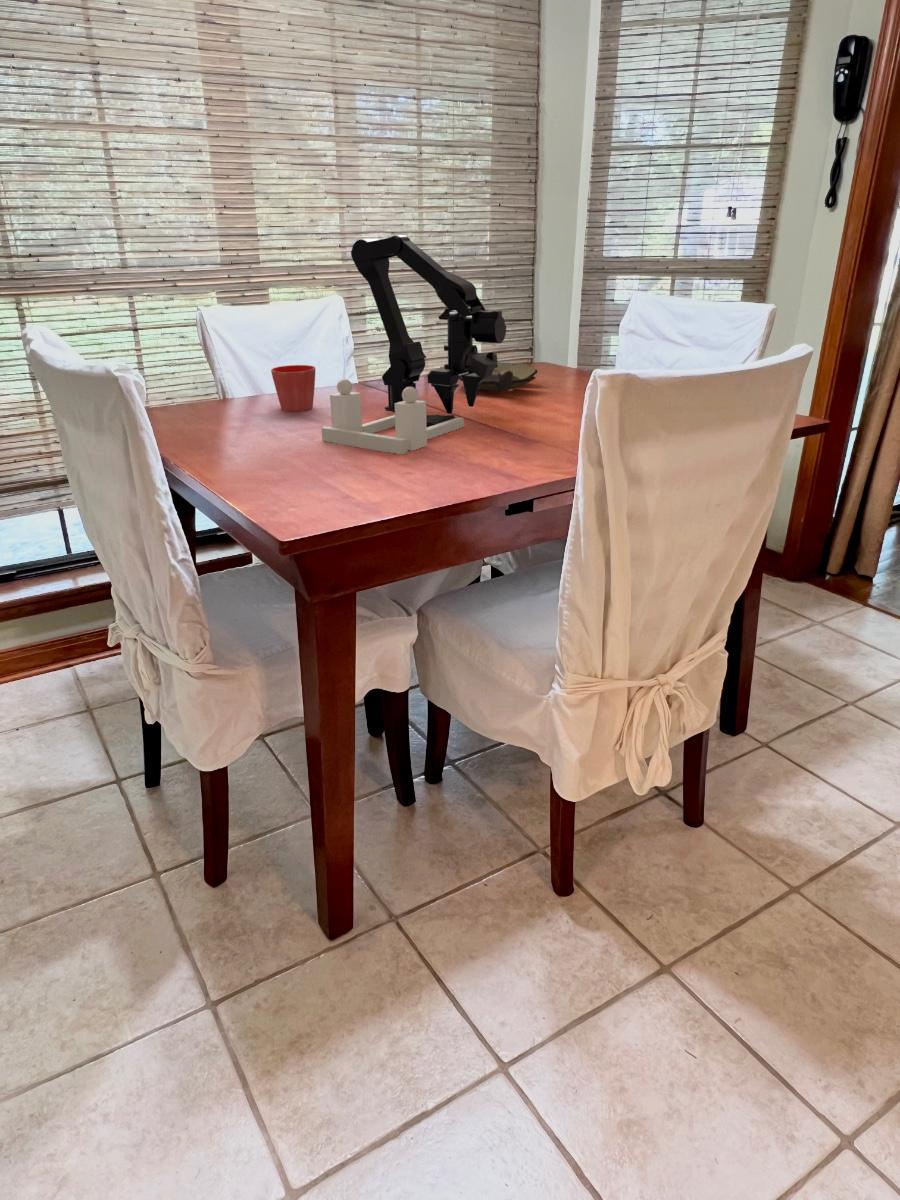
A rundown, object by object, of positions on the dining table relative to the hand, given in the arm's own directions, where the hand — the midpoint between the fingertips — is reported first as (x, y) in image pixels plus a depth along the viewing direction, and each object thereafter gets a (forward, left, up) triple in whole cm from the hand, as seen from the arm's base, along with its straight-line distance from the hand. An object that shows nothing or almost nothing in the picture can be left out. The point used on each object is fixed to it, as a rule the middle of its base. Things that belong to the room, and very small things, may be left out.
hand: (460, 410), depth 191 cm
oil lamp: (-10, +31, -2) cm, 33 cm away
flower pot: (-39, -15, -1) cm, 42 cm away
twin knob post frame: (0, -23, -1) cm, 23 cm away
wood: (+1, -15, -2) cm, 15 cm away
